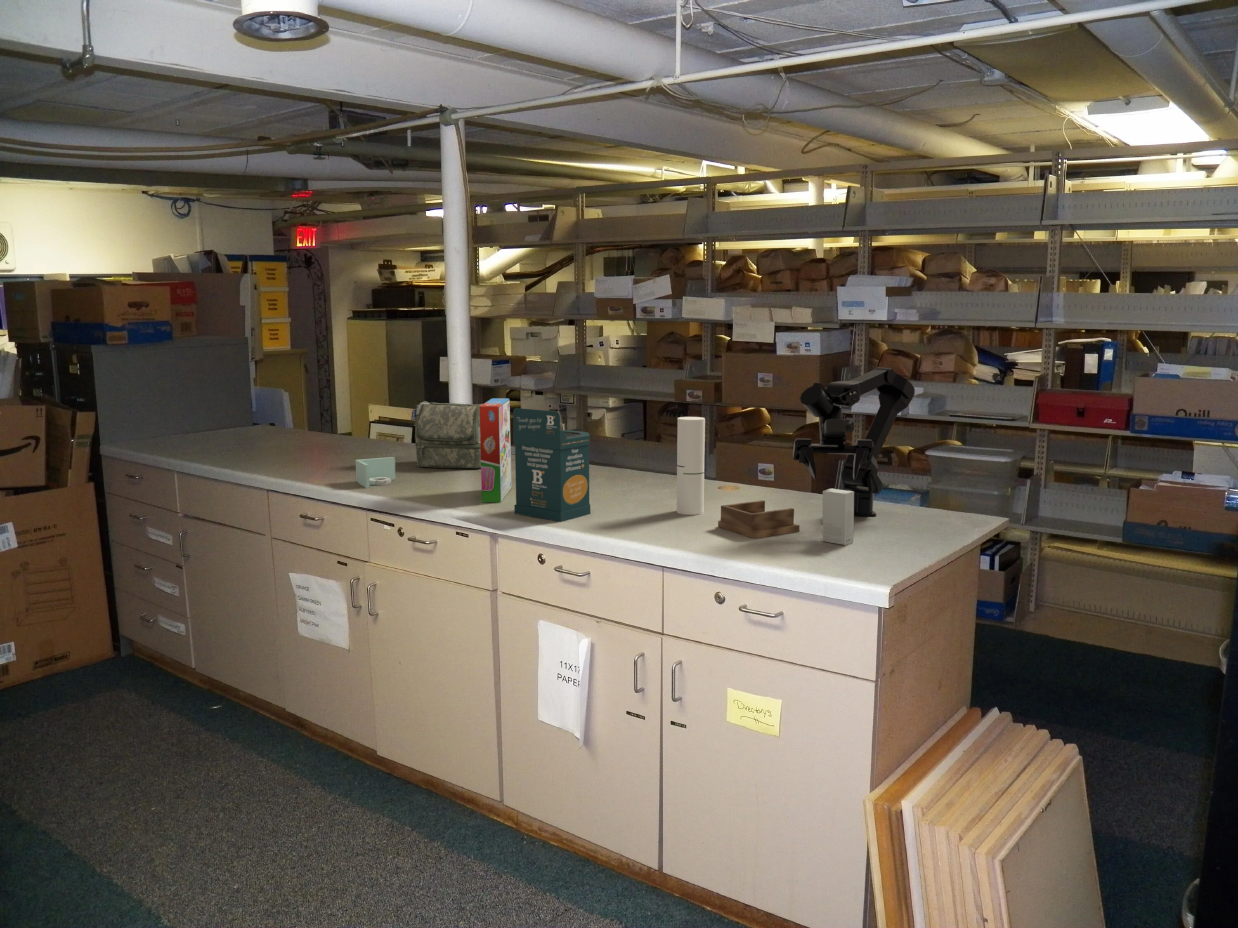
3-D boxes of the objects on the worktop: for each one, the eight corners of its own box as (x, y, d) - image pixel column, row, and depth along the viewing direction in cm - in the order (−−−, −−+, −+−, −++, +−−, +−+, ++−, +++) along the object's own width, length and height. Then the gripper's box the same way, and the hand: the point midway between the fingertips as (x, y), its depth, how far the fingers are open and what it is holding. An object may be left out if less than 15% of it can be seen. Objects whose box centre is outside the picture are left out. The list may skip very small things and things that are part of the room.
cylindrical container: (688, 508, 255) (690, 416, 251) (709, 512, 250) (710, 418, 246) (671, 511, 250) (671, 418, 246) (691, 516, 245) (692, 420, 241)
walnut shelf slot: (762, 520, 240) (763, 499, 239) (799, 531, 228) (800, 509, 227) (718, 526, 233) (718, 504, 232) (753, 538, 221) (754, 515, 220)
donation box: (514, 513, 248) (512, 407, 243) (554, 503, 261) (553, 402, 256) (561, 522, 238) (560, 411, 234) (600, 511, 251) (600, 406, 246)
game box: (493, 488, 282) (491, 398, 278) (511, 488, 282) (510, 398, 278) (481, 502, 262) (479, 405, 257) (501, 502, 262) (499, 405, 257)
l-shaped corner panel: (366, 489, 283) (365, 465, 282) (356, 483, 293) (355, 459, 292) (405, 486, 289) (404, 462, 288) (394, 480, 299) (393, 456, 298)
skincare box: (854, 542, 217) (856, 490, 215) (844, 546, 214) (846, 493, 212) (830, 538, 222) (832, 487, 220) (820, 541, 218) (822, 490, 216)
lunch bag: (407, 468, 319) (404, 403, 315) (430, 459, 336) (428, 398, 332) (479, 471, 313) (478, 405, 309) (499, 462, 330) (497, 400, 327)
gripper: (795, 405, 227) (798, 457, 217) (874, 406, 225) (880, 459, 216) (791, 433, 236) (794, 485, 226) (868, 434, 234) (873, 486, 225)
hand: (835, 478), depth 223 cm, fingers open, 9 cm apart
